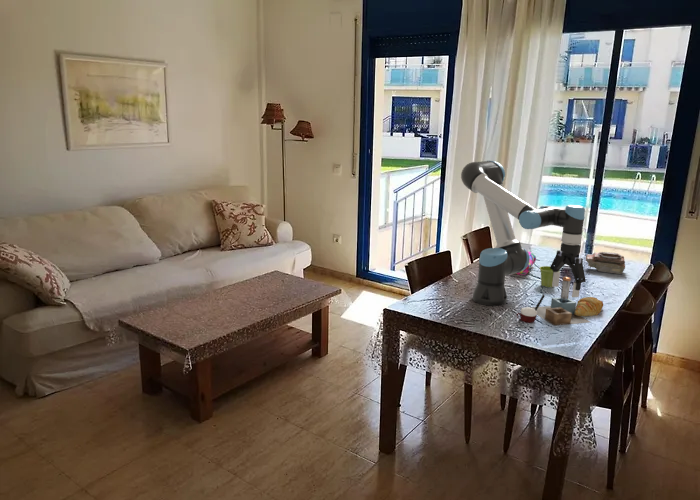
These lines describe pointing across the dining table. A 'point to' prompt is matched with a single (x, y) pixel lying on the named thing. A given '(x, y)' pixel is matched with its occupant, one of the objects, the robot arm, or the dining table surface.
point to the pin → (565, 289)
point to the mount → (558, 315)
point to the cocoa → (529, 313)
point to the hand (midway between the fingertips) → (564, 291)
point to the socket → (564, 305)
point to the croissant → (588, 306)
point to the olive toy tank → (606, 262)
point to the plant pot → (546, 276)
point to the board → (574, 320)
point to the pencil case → (531, 262)
